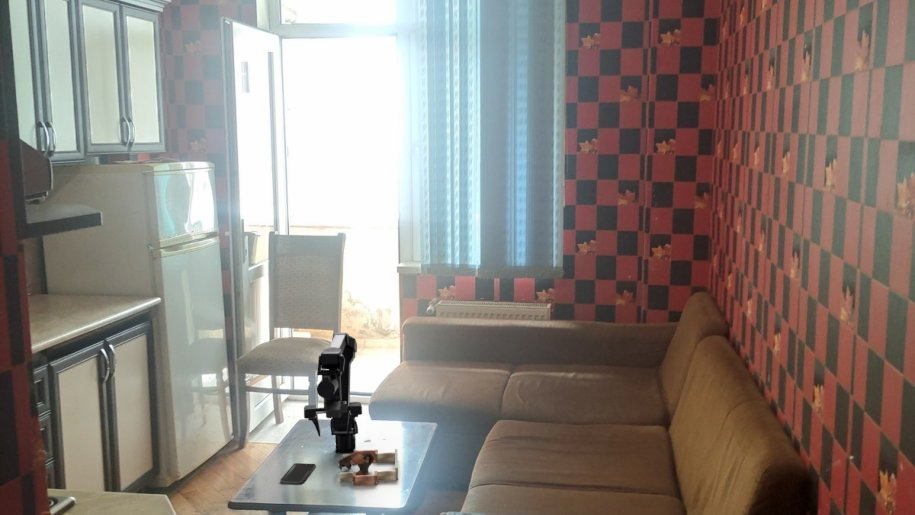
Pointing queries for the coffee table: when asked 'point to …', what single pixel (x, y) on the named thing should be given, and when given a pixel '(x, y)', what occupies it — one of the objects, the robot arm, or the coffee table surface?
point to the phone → (298, 473)
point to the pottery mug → (357, 462)
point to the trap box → (377, 474)
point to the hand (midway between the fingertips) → (333, 435)
